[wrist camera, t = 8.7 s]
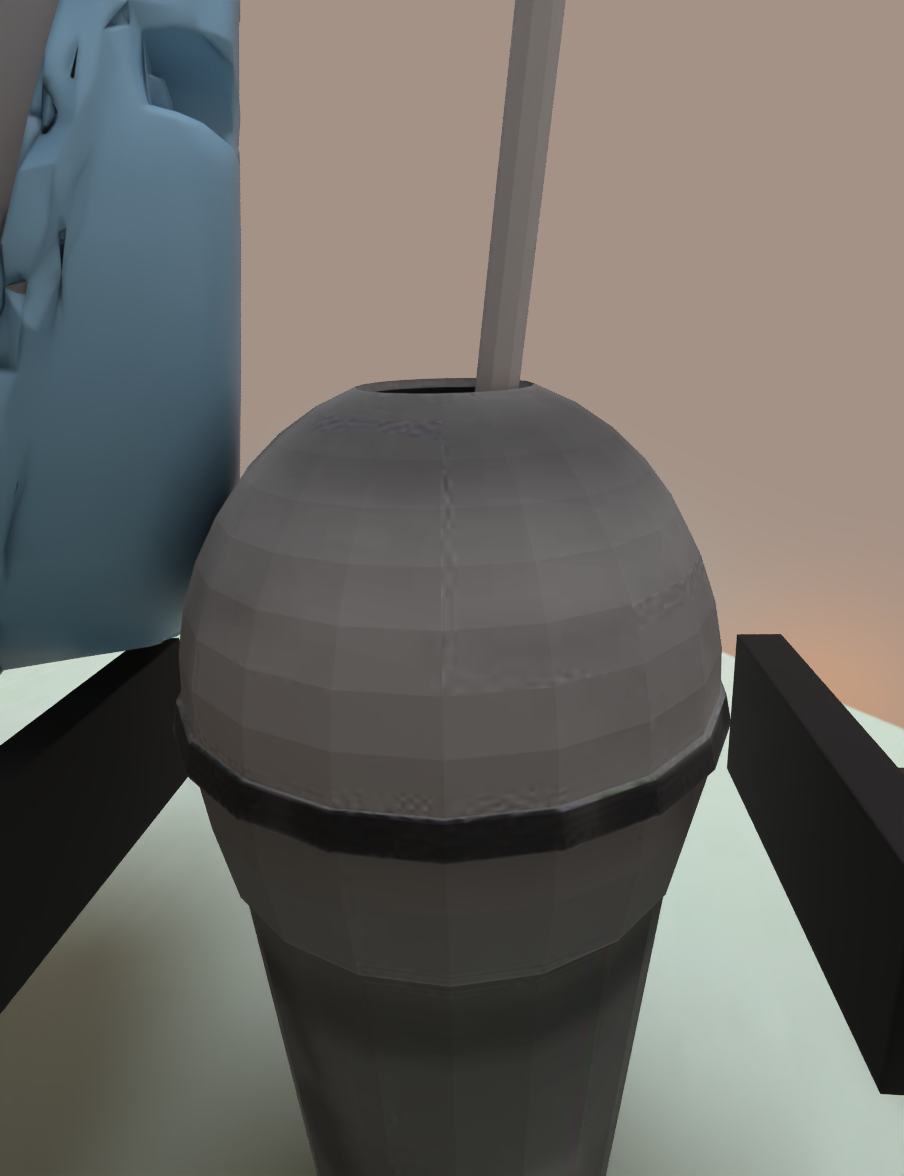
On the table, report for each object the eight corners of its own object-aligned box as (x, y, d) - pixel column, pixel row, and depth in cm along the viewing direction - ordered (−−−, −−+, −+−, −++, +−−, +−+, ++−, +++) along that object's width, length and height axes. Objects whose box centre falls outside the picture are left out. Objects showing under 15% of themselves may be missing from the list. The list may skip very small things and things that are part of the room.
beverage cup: (368, 1014, 19) (296, 65, 12) (673, 1102, 16) (799, -6, 10) (179, 1389, 12) (-223, -235, 5) (641, 1622, 10) (960, -675, 3)
